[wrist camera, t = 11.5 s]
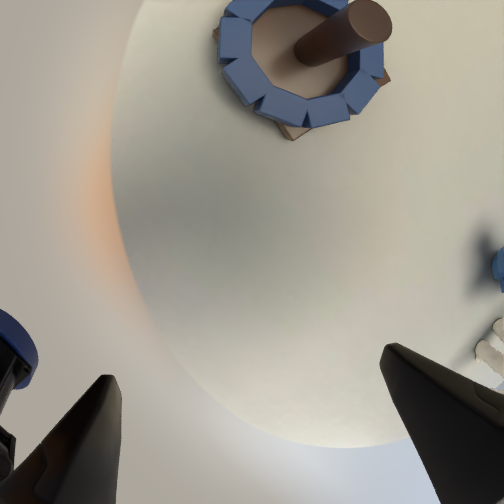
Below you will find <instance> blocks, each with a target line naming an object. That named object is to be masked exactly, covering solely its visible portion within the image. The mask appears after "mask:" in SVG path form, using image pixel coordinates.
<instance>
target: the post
mask: <svg viewBox="0 0 504 504" xmlns="http://www.w3.org/2000/svg"><path fill="white" fill-rule="evenodd" d="M391 33H392V22H391V19H390V17H389V15H388V13H387V12H386V11H385V9H384V8H383V7H382V6H380V5H379V4H378V3H376V2H374V1H372V0H355V1H353V2H351V3H350V4H348V5H347V6H345V7H344V8H342V9H341V10H339V11H338V12H336V13H335V14H333V15H332V16H330V17H328V16H326V15H324V14H321V13H319V12H317V11H315V10H313V9H311V8H308V7H306V6H304V5H301V4H296V5H288V6H280V7H273V8H269V9H268V10H267V11H266V12H265V13H264V14H263V15H262V16H261V17H260V18H259V19H258V20H257V21H256V22H255V23H254V24H253V25H252V49H251V56H252V57H253V58H254V60H255V61H256V62H257V64H258V65H259V66H260V68H261V69H262V71H263V72H264V73H265V75H266V76H267V77H268V79H269V80H270V82H271V83H272V85H273V86H276V87H279V88H281V89H284V90H286V91H289V92H291V93H294V94H296V95H298V96H301V97H303V98H305V99H310V98H314V97H319V96H324V95H329V94H330V93H331V92H332V91H333V90H334V88H335V87H336V86H337V85H338V84H339V82H340V81H341V80H342V79H343V78H344V76H345V75H346V74H347V73H348V54H350V53H353V52H356V51H359V50H362V49H364V48H367V47H370V46H373V45H376V44H379V43H382V42H385V41H386V40H387V39H388V38H389V37H390V35H391ZM212 36H213V37H214V39H215V40H216V41H217V42H218V36H219V27H218V28H216V29H214V30H213V35H212ZM375 81H376V82H377V83H378V84H379V85H380V87H381V86H383V85H385V84H387V83H388V82H390V81H391V80H390V78H389V76H388V74H387V72H386V70H385V69H384V72H383V78H382V79H376V80H375ZM275 122H276V123H277V125H278V126H279V128H280V129H281V131H282V132H283V134H284V135H285V137H286V138H287V140H291V141H294V140H296V139H297V138H299V137H300V136H302V135H303V134H305V133H306V132H308V131H309V130H311V129H312V128H303V127H291V126H288V125H286V124H283V123H281V122H278V121H275Z"/></svg>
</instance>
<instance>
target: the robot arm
mask: <svg viewBox="0 0 504 504" xmlns="http://www.w3.org/2000/svg"><path fill="white" fill-rule="evenodd" d="M380 369H381V372H382V374H383V377H384V379H385V382H386V385H387V387H388V390H389V393H390V395H391V398H392V400H393V403H394V405H395V407H396V409H397V411H398V413H399V415H400V417H401V419H402V421H403V423H404V425H405V427H406V429H407V431H408V433H409V435H410V437H411V439H412V441H413V443H414V445H415V448H416V450H417V452H418V454H419V456H420V458H421V460H422V462H423V465H424V466H425V469H426V471H427V473H428V475H429V478H430V480H431V482H432V484H433V487H434V489H436V490H435V492H436V494H437V496H438V498H439V501H440V503H441V504H504V394H501V393H498V392H496V391H494V390H491V389H489V388H487V387H485V386H483V385H480V384H478V383H476V382H473V381H472V380H470V379H468V378H466V377H464V376H462V375H460V374H458V373H456V372H454V371H452V370H450V369H448V368H446V367H444V366H442V365H440V364H438V363H436V362H434V361H432V360H430V359H428V358H426V357H424V356H422V355H420V354H418V353H416V352H414V351H412V350H410V349H408V348H406V347H404V346H402V345H400V344H398V343H391V344H387V345H386V346H385V347H384V350H383V353H382V356H381V359H380ZM32 370H33V368H32V366H31V365H30V364H29V363H28V362H26V361H25V360H24V359H23V358H22V357H21V356H20V355H19V354H18V353H17V352H16V351H15V350H14V349H13V348H12V347H10V346H9V345H8V344H7V343H6V342H5V341H4V340H3V339H2V338H1V337H0V415H1V413H2V410H3V408H4V406H5V404H6V401H7V399H8V397H9V395H10V393H11V391H12V390H13V389H14V388H15V387H16V386H17V385H18V384H20V383H21V382H22V381H23V380H24V379H25V378H26V377H28V376H29V375H30V374H31V372H32ZM121 405H122V397H121V391H120V389H119V386H118V384H117V381H116V379H115V377H114V376H113V375H101V376H100V377H99V378H98V379H97V380H96V381H95V382H94V383H93V384H92V385H91V387H90V388H89V389H88V390H87V391H86V392H85V393H84V394H83V395H82V396H81V398H80V399H79V400H78V401H77V402H76V403H75V404H74V405H73V407H72V408H71V409H70V410H69V411H68V412H67V413H66V414H65V415H64V417H63V418H62V419H61V420H60V421H59V422H58V423H57V425H56V426H55V427H54V428H53V429H52V430H51V431H50V432H49V434H48V435H47V436H46V437H45V438H44V439H43V441H42V442H41V444H39V445H38V446H37V447H36V449H34V451H33V452H32V453H31V454H30V455H29V456H28V457H27V458H26V460H24V461H23V462H22V463H21V464H20V465H19V466H18V467H17V468H16V469H15V470H14V456H15V443H16V438H15V437H14V436H13V435H12V434H9V433H8V432H7V431H6V430H5V429H4V428H3V427H1V426H0V504H116V490H117V477H118V465H119V456H120V446H121Z"/></svg>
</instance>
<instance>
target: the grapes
mask: <svg viewBox="0 0 504 504" xmlns="http://www.w3.org/2000/svg"><path fill="white" fill-rule="evenodd" d="M492 270H493V276H494V279H500V287H501V291H502V293H504V247H503V248H501V249H500V250H499V251H498V253H497V256H495V257H494V259H493V261H492Z"/></svg>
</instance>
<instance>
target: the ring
mask: <svg viewBox="0 0 504 504" xmlns="http://www.w3.org/2000/svg"><path fill="white" fill-rule="evenodd" d="M348 1H349V0H233V1H232V2H231V3H230V4H229V5H228V6H227V7H226V8H225V11H224V15H223V17H221V19H220V24H219V36H218V60H217V63H218V64H228V65H226V66H225V67H223V68H222V71H221V74H222V76H223V77H224V78H225V80H226V81H227V82H228V84H229V85H230V86H231V88H232V89H233V90H234V92H235V93H236V94H237V96H238V97H239V99H240V100H241V101H242V103H243V104H244V105H245V106H248V105H250V104H252V103H253V102H255V101H257V100H258V102H257V105H256V107H255V110H254V113H256V114H259V115H262V116H264V117H267V118H270V119H273V120H275V121H278V122H281V123H283V124H286V125H288V126H291V127H303V128H316V127H321V126H325V125H329V124H333V123H338V122H342V121H347V120H350V115H358V114H359V113H360V112H361V111H362V110H363V108H364V107H365V106H366V105H367V103H368V102H369V101H370V99H371V98H372V97H373V96H374V94H375V93H376V92H377V91H378V89H379V88H380V85H379V84H378V83H377V82H376V81H375V80H376V79H382V78H383V72H384V54H383V42H382V43H379V44H376V45H373V46H370V47H367V48H364V49H362V50H359V51H356V52H353V53H350V54H348V73H347V74H346V75H345V76H344V78H343V79H342V80H341V81H340V82H339V84H338V85H337V86H336V87H335V88H334V90H333V91H332V92H331V93H330V94H329V95H324V96H319V97H314V98H310V99H305V98H303V97H301V96H298V95H296V94H294V93H291V92H289V91H286V90H284V89H281V88H279V87H276V86H273V85H272V83H271V82H270V80H269V79H268V77H267V76H266V75H265V73H264V72H263V71H262V69H261V68H260V66H259V65H258V64H257V62H256V61H255V60H254V58H253V57H252V56H251V49H252V25H253V24H254V23H255V22H256V21H257V20H258V19H259V18H260V17H261V16H262V15H263V14H264V13H265V12H266V11H267V10H268V9H269V8H273V7H280V6H288V5H296V4H301V5H304V6H306V7H308V8H311V9H313V10H315V11H317V12H319V13H321V14H324V15H326V16H328V17H330V16H332V15H333V14H335V13H336V12H338V11H339V10H341V9H342V8H344V7H345V6H347V5H348Z"/></svg>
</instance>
